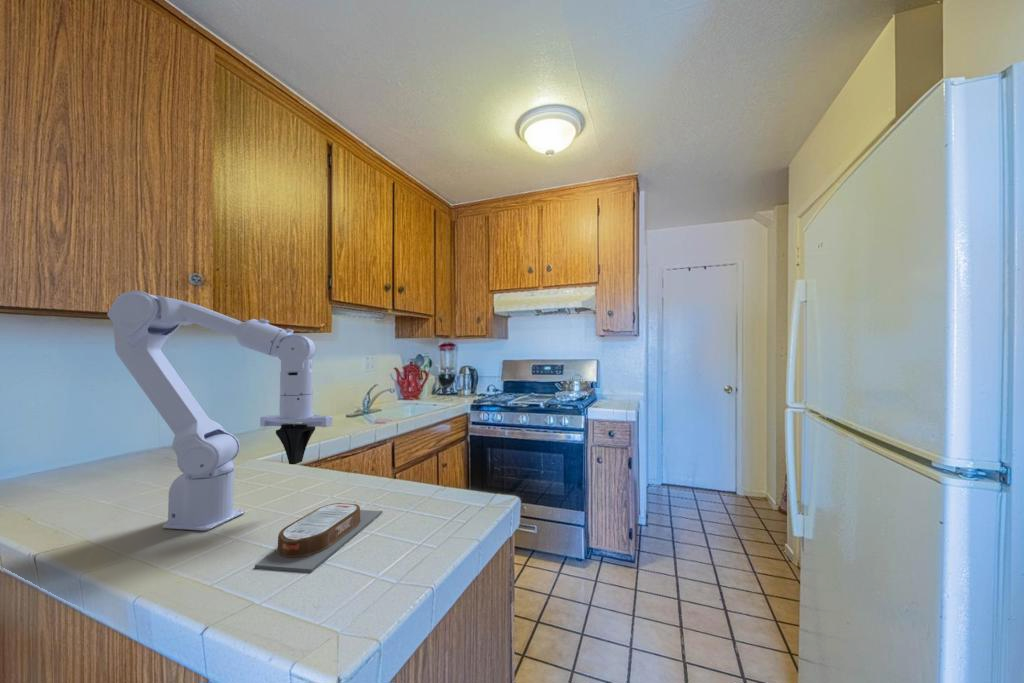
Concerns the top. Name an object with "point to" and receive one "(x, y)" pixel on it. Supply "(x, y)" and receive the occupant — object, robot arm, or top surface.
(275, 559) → the rubber mat
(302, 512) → the top surface
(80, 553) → the top surface
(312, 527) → the tin
